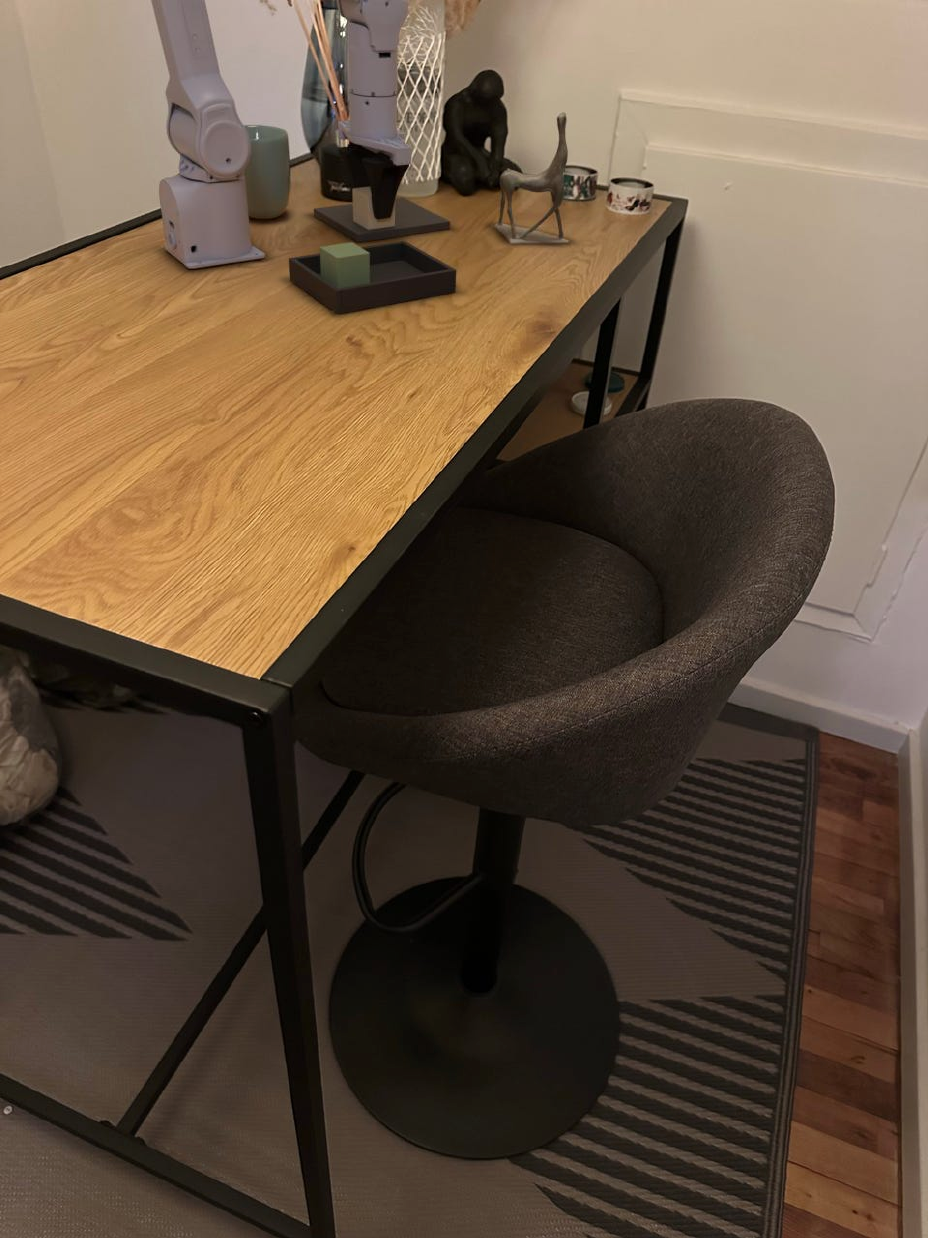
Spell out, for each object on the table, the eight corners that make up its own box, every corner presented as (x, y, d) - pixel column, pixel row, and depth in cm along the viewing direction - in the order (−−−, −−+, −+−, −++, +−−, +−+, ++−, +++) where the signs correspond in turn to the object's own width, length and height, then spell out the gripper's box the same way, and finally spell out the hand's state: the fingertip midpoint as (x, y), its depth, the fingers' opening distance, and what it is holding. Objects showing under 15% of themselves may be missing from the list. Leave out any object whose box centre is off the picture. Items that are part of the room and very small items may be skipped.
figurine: (475, 233, 120) (483, 105, 110) (500, 223, 124) (510, 99, 114) (547, 253, 115) (562, 121, 106) (571, 241, 120) (587, 113, 110)
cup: (222, 218, 118) (213, 133, 112) (250, 203, 124) (243, 121, 118) (276, 227, 117) (270, 141, 110) (302, 211, 123) (298, 129, 116)
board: (358, 242, 114) (357, 234, 113) (313, 216, 121) (313, 208, 121) (450, 228, 121) (450, 221, 120) (402, 204, 128) (402, 197, 127)
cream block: (368, 229, 115) (368, 196, 113) (352, 221, 118) (352, 188, 115) (395, 226, 117) (395, 193, 114) (379, 217, 119) (379, 184, 117)
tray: (337, 314, 96) (336, 290, 94) (289, 280, 103) (288, 257, 101) (455, 292, 103) (456, 269, 101) (403, 261, 110) (404, 240, 108)
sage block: (338, 295, 99) (337, 257, 96) (321, 283, 101) (319, 246, 99) (370, 289, 101) (369, 252, 98) (352, 278, 103) (351, 241, 100)
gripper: (434, 102, 105) (430, 224, 114) (371, 79, 114) (372, 194, 123) (382, 106, 102) (382, 231, 110) (321, 82, 111) (325, 200, 119)
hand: (373, 212), depth 116 cm, fingers closed on cream block, 4 cm apart
